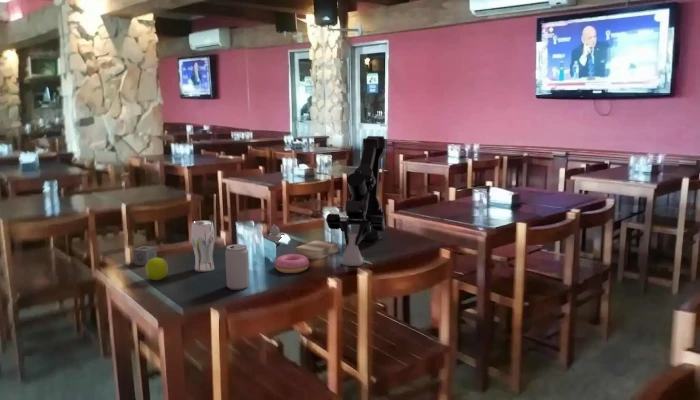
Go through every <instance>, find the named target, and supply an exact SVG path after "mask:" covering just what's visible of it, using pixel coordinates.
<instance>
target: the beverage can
mask: <svg viewBox="0 0 700 400" xmlns="http://www.w3.org/2000/svg"><path fill="white" fill-rule="evenodd" d="M224 254H225V255H224V256H225V274H226V275H225V277H226V287H227V288H228V289H229V290H234V291H240V290H246V289H247V287H248V286H250V265H249V264H250V263H249V262H250V261H249V260H250V259H249V249H248V245H246V244H243V243H242V244H230V245H227V246H226V250H225V252H224Z"/></svg>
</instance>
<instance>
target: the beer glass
mask: <svg viewBox="0 0 700 400" xmlns="http://www.w3.org/2000/svg"><path fill="white" fill-rule="evenodd" d="M190 232H191V233H190V236H191V245H192V248H193V252H194V256H195V257H194V259H195V262H194V263H195V264H194V271H195V272H197V273H205V272H206V273H207V272H211V271H214V270H215V264H214V256H213V255H214V248H215V227H214V221H213V220H207V219H206V220H196V221H195V220H194V221H192V222H191V231H190Z"/></svg>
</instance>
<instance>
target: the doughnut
mask: <svg viewBox="0 0 700 400" xmlns="http://www.w3.org/2000/svg"><path fill="white" fill-rule="evenodd" d="M273 264H274V266H275V269H276V270H277V271H278V272H280V273H284V274H297V273H298V274H299V273H302V272H305V271H306V270H307V269H308V268H309V265H310V260H309V259H308V258H307V257H305V256H303V255H300V254H296V253H288V254H283V255H280V256H278V257H277V258H276V259H275V260H274V263H273Z"/></svg>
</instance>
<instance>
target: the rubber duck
mask: <svg viewBox="0 0 700 400" xmlns="http://www.w3.org/2000/svg"><path fill="white" fill-rule="evenodd" d="M269 232H270V233H269V235H268V237H267V240H268V239H270V240H272V241H277V242H278V241H279V240H280V239H281V238H282V237H281V235H284V236H285V233H284V232H280V228H279V227H278V226H277V225H275V223H273V224H272V226H271V228H270V230H269ZM281 243H282V242H280V243H276V245H279V244H281Z"/></svg>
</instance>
